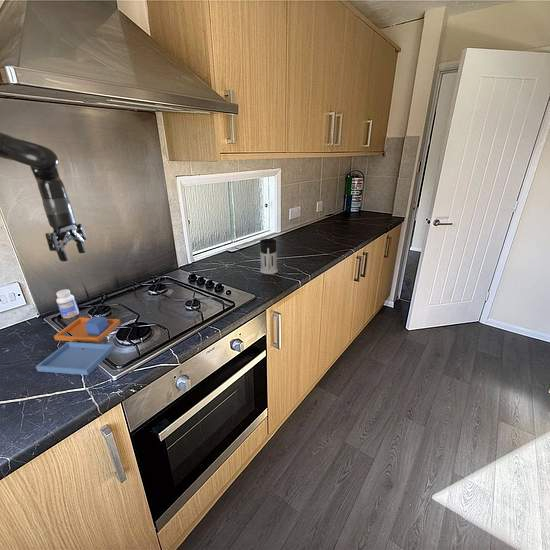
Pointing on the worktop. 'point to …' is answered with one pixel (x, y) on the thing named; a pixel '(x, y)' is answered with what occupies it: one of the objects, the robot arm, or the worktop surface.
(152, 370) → the worktop surface
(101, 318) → the blue block
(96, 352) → the blue tray
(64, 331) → the amber tray
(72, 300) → the pill bottle
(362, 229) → the worktop surface
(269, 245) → the glass holder
